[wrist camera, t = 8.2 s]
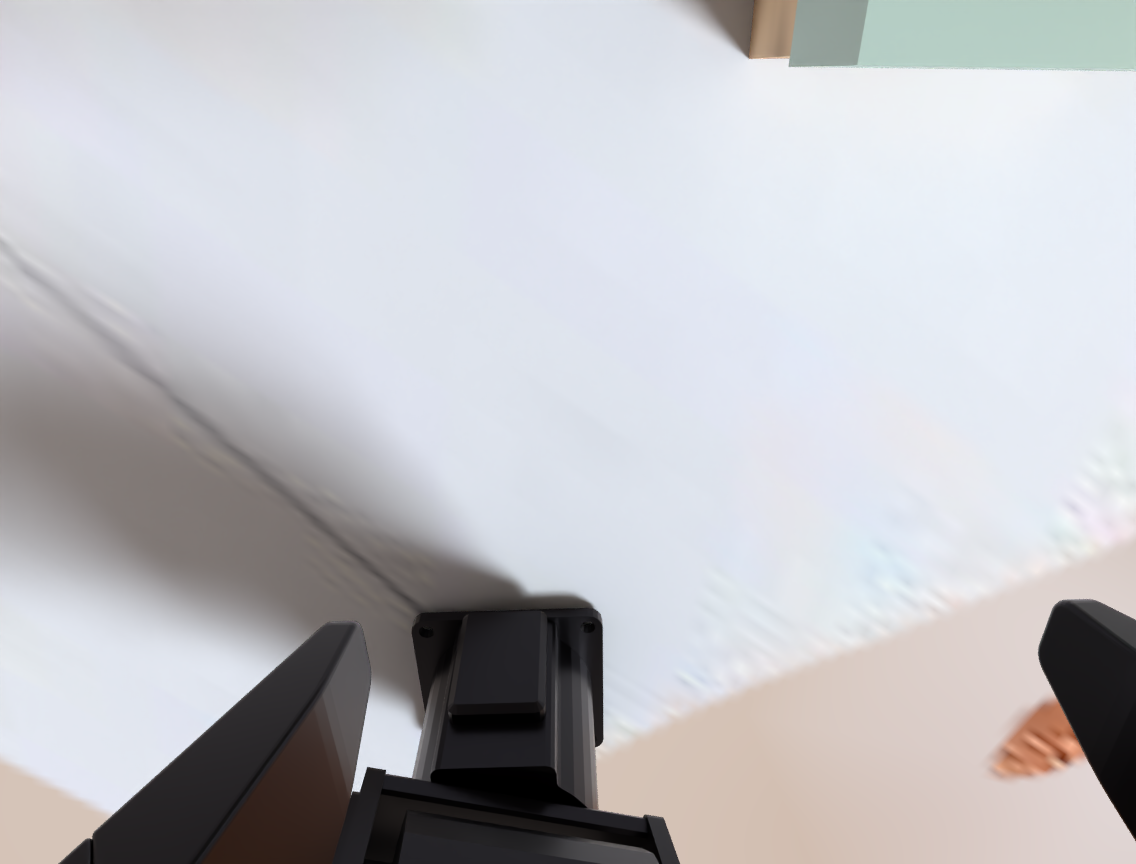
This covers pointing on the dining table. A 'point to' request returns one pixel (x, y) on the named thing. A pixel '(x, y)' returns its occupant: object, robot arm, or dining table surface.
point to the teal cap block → (966, 34)
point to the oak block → (772, 29)
